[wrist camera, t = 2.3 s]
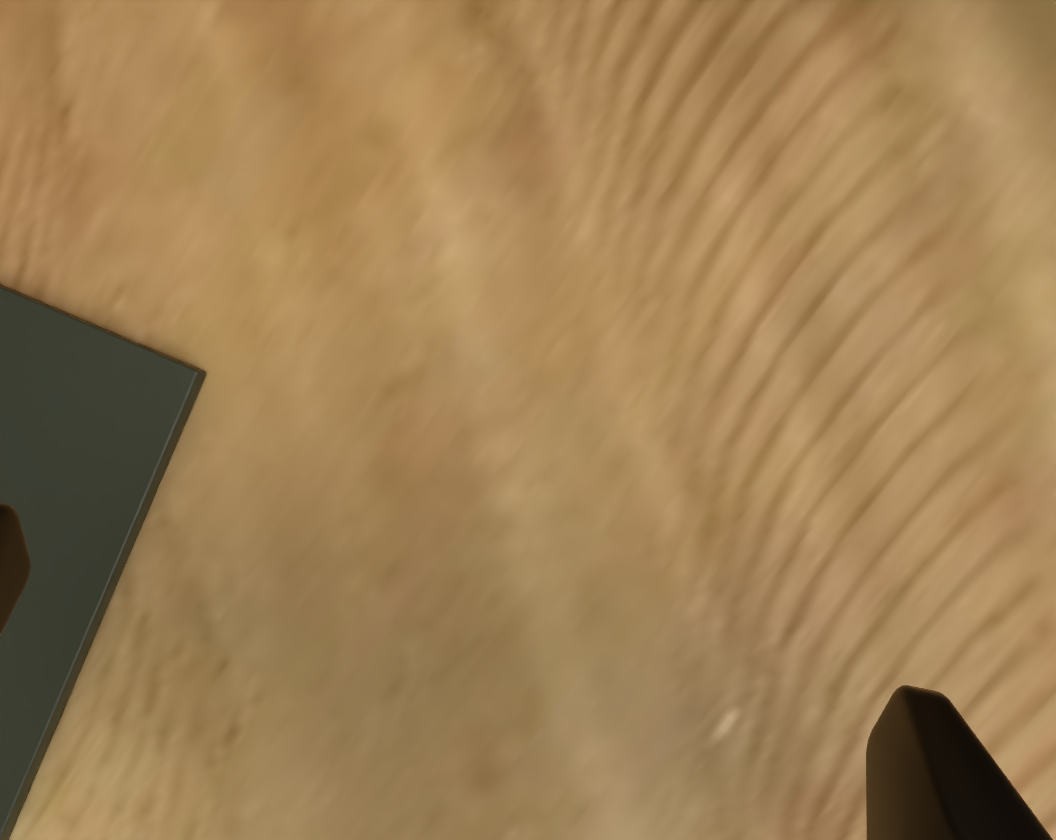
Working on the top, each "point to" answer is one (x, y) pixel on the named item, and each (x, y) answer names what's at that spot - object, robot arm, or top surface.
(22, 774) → the slate
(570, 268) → the top surface
